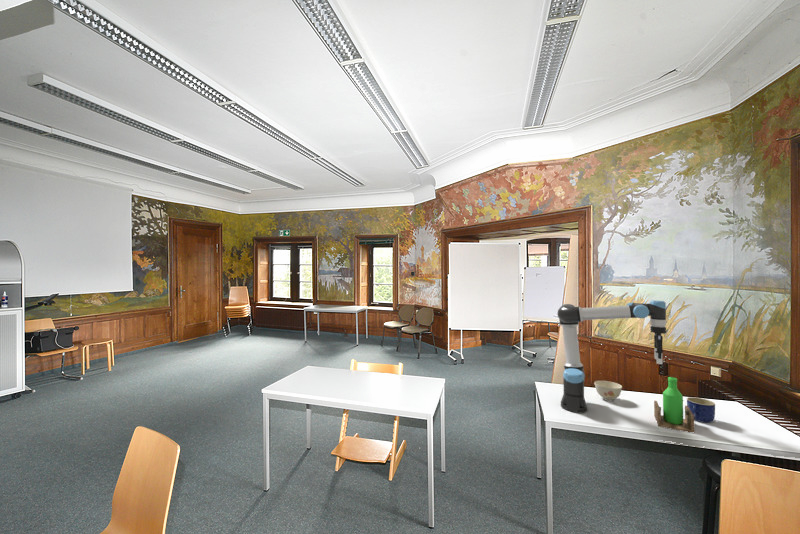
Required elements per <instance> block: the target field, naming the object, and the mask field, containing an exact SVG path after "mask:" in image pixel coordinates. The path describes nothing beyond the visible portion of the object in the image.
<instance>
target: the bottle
mask: <svg viewBox="0 0 800 534" xmlns="http://www.w3.org/2000/svg"><path fill="white" fill-rule="evenodd" d="M667 383H668V384H667V385H668V386H667V388H666V389H665V390H664V391H663V392H662V412H663V413H662V414H663V419H664V420H665V421H667V422H668V423H671V424H676V425H680V424H683V419H684V400H683V399H684V395H683V394H682V393H681V392H680V390H679V389H678V378H676V377H673V376H669V377H667Z"/></svg>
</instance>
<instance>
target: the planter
mask: <svg viewBox="0 0 800 534" xmlns="http://www.w3.org/2000/svg"><path fill="white" fill-rule="evenodd" d="M686 406H688V407H689V409H690V410H691V412H692V413H693V415H694V421H695V422H696V421H697V422H700V423H709V424H710V423H712V422H714V421H715V417H716V403H715V402H714V401H712V400H709V399H706V398H703V397H696V396H695V397H693V396H691V397H689V396H688V397H687V398H686Z"/></svg>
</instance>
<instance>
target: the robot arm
mask: <svg viewBox="0 0 800 534" xmlns="http://www.w3.org/2000/svg"><path fill="white" fill-rule="evenodd" d="M648 316H649V317H650V318H649V319H650V320H649V323H650V324H649V325H650V327H649V328H650V332H651V333H652V334H653V333H654V335H653V340H654V342H653V343H654V344H653V346H654V349H653V350H654V352H653V353H654V359H655V360H656V365H657V364H658V365H663V354H664V350H663V349H664V348H663V339H664V337H663V336H662V334H666V333H667V327H666V326H667V323H668V320H667V305H666V302H665V301H664V300H650V302H649V303H639V302H628V303H626V305H617V306H616V305H615V306H613V305H612V306H598V307H597V306H595V307H581V306H576V305H573V304H571V303H564V304H562V305H561V306H560V307H559V309H557V317H558V320H559V325H560V326H561V327H562V335H563V336H562V337H563V345H564V354H565V356H564V357H565V362H564V363H563V369H564V371H563V373H562V374H563V375H562V377H563V379H562V380H563V384H562V385H563V395H562V396H561V397H562V398H561V400H560V407H561V408H562V409H564V410H566V411H568V412H572V413H580V414H581V413H587V411H588V404H587V401H586V399H585V378H586V373H585V369H584V364H583V363H581V356H580V347H579V338H578V329H577V328H578V326H579V325H580V323H581V322H584V321H592V320H594V321H595V320H611V319H612V320H614V319H615V320H617V319H645V318H647V317H648Z"/></svg>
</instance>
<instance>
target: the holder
mask: <svg viewBox="0 0 800 534" xmlns="http://www.w3.org/2000/svg"><path fill="white" fill-rule="evenodd" d="M653 405H654V407H653V408H654V412H653V413H654V418H655V421H657V422H656V424H657V427H659V426H660V428H664V427H665V428H664V429H669V428H671V429H670V430H675V429H676V430H675V431H680V430H681V431H680V432H685V431H688V432H687V433H690V432H694V433H695V420H694V415H693V413H692V412H691V410H690V409H689V407H688V406H687V405H684V418H683V424H680V425H676V424H671V423H668V422H667V421H665V420H664V419H663V415H662V407H661V406H660V405H659V403H658V401H657V400H654V401H653Z"/></svg>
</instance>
